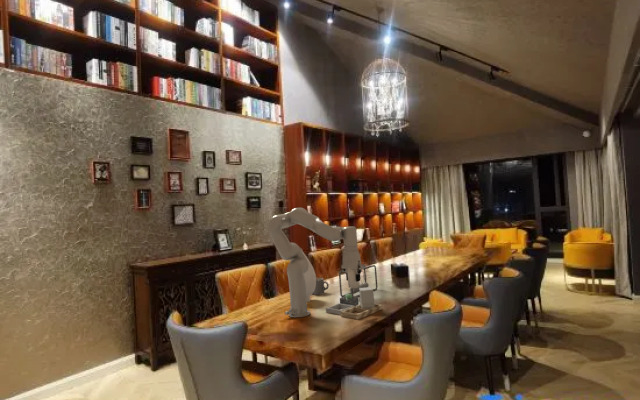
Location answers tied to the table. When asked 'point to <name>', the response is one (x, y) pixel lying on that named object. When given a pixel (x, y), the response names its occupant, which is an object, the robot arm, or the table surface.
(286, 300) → the table surface
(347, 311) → the wooden frame with crossbar
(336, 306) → the frame
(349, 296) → the button
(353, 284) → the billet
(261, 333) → the table surface
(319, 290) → the coffee mug
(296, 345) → the table surface
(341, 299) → the grey square holder
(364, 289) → the supplement box
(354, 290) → the newton's cradle
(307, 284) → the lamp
